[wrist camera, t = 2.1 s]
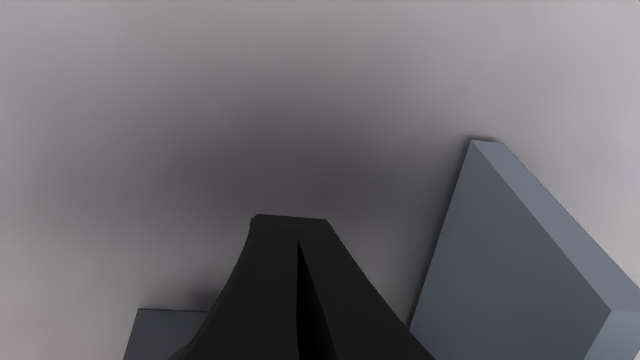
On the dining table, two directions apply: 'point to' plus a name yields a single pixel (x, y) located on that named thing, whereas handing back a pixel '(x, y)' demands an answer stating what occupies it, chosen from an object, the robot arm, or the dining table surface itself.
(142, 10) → the dining table surface
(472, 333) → the side door
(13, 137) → the dining table surface
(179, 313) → the box
